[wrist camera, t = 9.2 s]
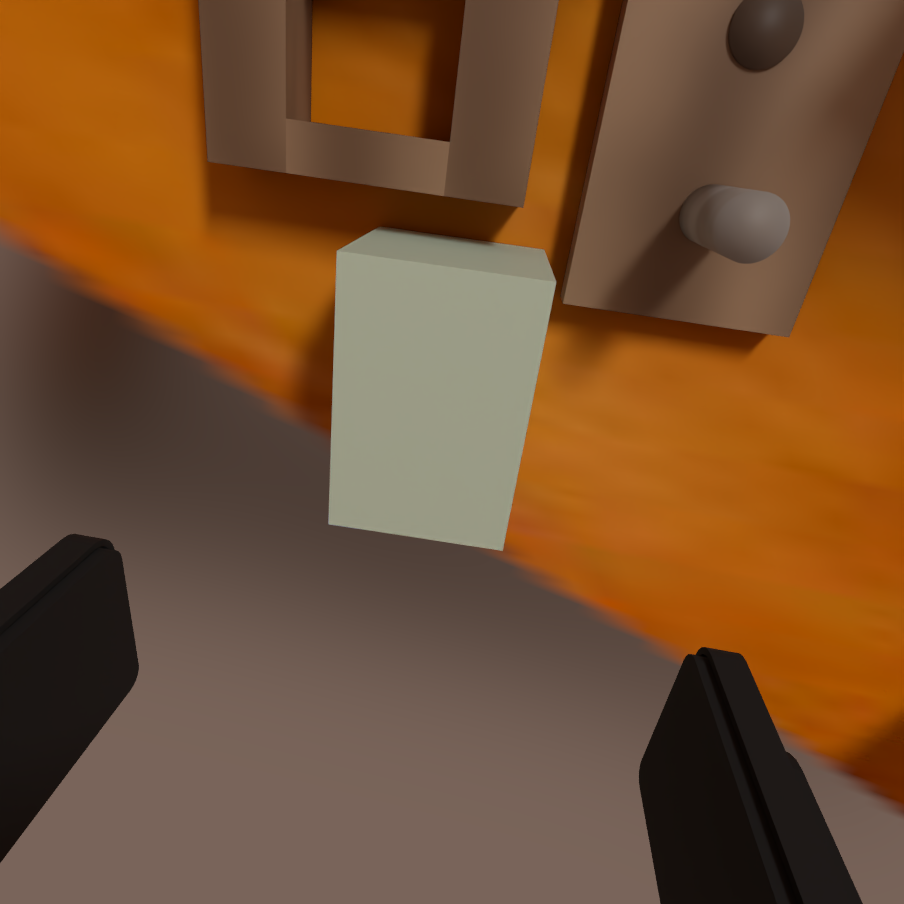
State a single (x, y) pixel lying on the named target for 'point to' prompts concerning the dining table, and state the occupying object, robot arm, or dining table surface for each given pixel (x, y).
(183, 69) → the dining table surface
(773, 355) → the dining table surface
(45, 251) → the dining table surface
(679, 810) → the robot arm
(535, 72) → the socket board
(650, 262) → the board
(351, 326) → the pale green rectangular block
